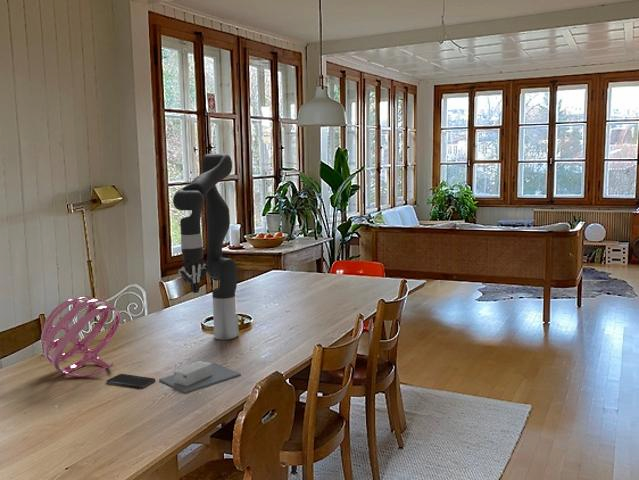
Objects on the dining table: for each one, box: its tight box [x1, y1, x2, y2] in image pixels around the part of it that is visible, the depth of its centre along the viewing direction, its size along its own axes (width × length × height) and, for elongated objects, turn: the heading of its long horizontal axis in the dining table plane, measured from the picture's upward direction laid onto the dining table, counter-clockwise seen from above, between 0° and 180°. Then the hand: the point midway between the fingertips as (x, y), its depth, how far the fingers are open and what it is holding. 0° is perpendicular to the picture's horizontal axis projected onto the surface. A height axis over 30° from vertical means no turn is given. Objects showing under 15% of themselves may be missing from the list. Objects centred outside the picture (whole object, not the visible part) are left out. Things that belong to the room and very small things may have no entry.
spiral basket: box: [40, 295, 122, 378], centre depth 213 cm, size 28×28×27 cm
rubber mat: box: [158, 362, 242, 394], centre depth 206 cm, size 22×16×1 cm
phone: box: [106, 373, 156, 390], centre depth 203 cm, size 8×1×15 cm
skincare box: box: [173, 360, 212, 386], centre depth 203 cm, size 6×4×12 cm
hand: (195, 292), depth 222 cm, fingers closed
